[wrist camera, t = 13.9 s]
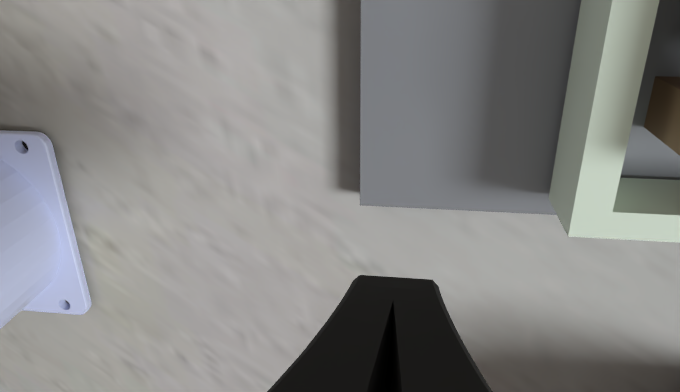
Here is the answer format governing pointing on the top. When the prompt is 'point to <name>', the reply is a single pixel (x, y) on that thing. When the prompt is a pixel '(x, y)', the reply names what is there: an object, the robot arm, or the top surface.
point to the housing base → (483, 102)
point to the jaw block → (665, 111)
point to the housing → (609, 131)
